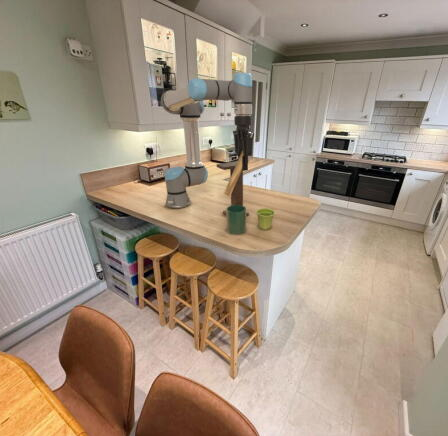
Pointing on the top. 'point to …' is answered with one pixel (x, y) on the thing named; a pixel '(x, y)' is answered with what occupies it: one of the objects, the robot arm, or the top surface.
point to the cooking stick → (234, 176)
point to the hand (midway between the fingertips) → (243, 169)
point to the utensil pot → (236, 219)
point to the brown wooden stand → (238, 189)
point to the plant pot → (265, 218)
